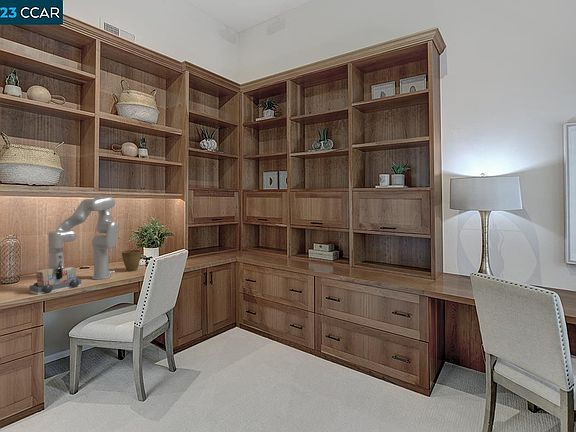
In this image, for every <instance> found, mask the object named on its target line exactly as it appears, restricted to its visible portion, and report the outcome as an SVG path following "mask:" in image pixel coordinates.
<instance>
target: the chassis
mask: <svg viewBox="0 0 576 432" xmlns="http://www.w3.org/2000/svg"><path fill="white" fill-rule="evenodd" d="M78 287H82V279H79V278H77V280H72V281H71V282H65V283H60V284H55V285H45V286H44V287H38V283H37V281H36V282H35V283H33V284H31V285H29V293H32V294H35V295H43V294H49V293H52V292H57V291H58V292H59V291H62V290H68V289H72V288H78Z"/></svg>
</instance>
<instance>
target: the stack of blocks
mask: <svg viewBox="0 0 576 432" xmlns="http://www.w3.org/2000/svg"><path fill="white" fill-rule="evenodd" d="M58 268H60V267H58ZM58 270H59V269H58ZM35 273H36V282H37V283H38V287H44V286H45V285H55V284H60V283H65V282H71V281H72V280H77V279H78V277H77V270H76V267H70V266H69V267H64V268H63V272H62V278H61V279H57V277H56V273H57V269H56V268H50V267H48V268H44V269H43V268H42V269H41V270H36V271H35Z"/></svg>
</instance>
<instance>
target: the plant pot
mask: <svg viewBox="0 0 576 432" xmlns="http://www.w3.org/2000/svg"><path fill="white" fill-rule="evenodd" d="M121 256H122V261H123V264H124V267H125V269H126V272H137V271H138V268H139V265H140V262H141V257H142V250H141V249H130V250H129V249H128V250H123V251H121Z"/></svg>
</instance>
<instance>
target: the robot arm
mask: <svg viewBox="0 0 576 432" xmlns="http://www.w3.org/2000/svg"><path fill="white" fill-rule="evenodd" d="M115 205H116V201H115V199H114V198H113V197H111V196H96V197H94V198H86V199H83V200H82V201H81V202H80V203H79V205H78V206H77V207H76V208H75V210H74V212H73V213H72V215H71V216H69V217H67V218H66V219H65V220H64V221H62V222H61V223H60V224H59V226H58V227H57V228H56V230H55V231H50V232H48V235H47V236H48V237H47V238H48V240H47V241H48V255H49V256H48V268H56V269H57V273H56V277H57V279H61V278H62V272H63V269H64V268H65V258H64V253H63V252H64V250H63V249H64V246H63V245H64V244H63V243H64V242H73V241H75V240H76V238H77V237H78V236H77V233H76V231H74V230H71V229H72V228H74V227H75V226H79V225H81V224H83V223H85V222H86V220H87V219H88V218H89V216H90V214H91V213H92V212H98V218H97V224H96V231H97V233H99V235H96V236H93V238H92V240H91V246H92V249H93V275H92V276H91V279H92V280H106V279H110V278H111V277H112V274H116V272H115V271H116V270H109V267H110V266H109V249H110V250H111V249H114V248H115V247H116V245H117V241H118V236H119V231H120V230H119V225H118V222H116V221H114V220H112V211H111V209H112V208H114V207H115ZM101 234H103V235H101ZM104 234H105V235H104ZM58 267H60V268H58ZM58 269H59V270H58Z"/></svg>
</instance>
